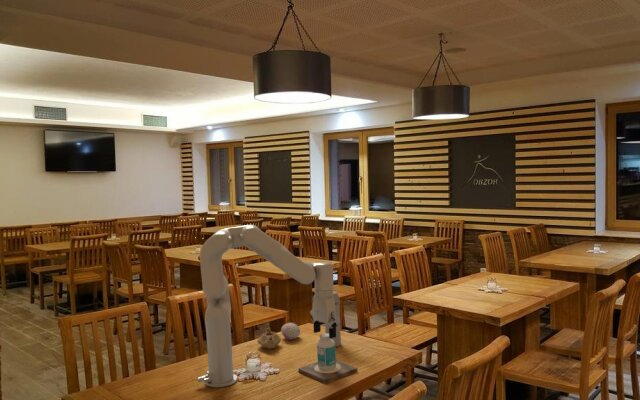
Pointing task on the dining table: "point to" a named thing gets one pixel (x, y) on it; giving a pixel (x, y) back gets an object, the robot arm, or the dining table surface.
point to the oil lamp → (269, 339)
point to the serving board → (327, 372)
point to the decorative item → (290, 331)
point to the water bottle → (338, 334)
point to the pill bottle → (326, 352)
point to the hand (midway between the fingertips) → (324, 334)
